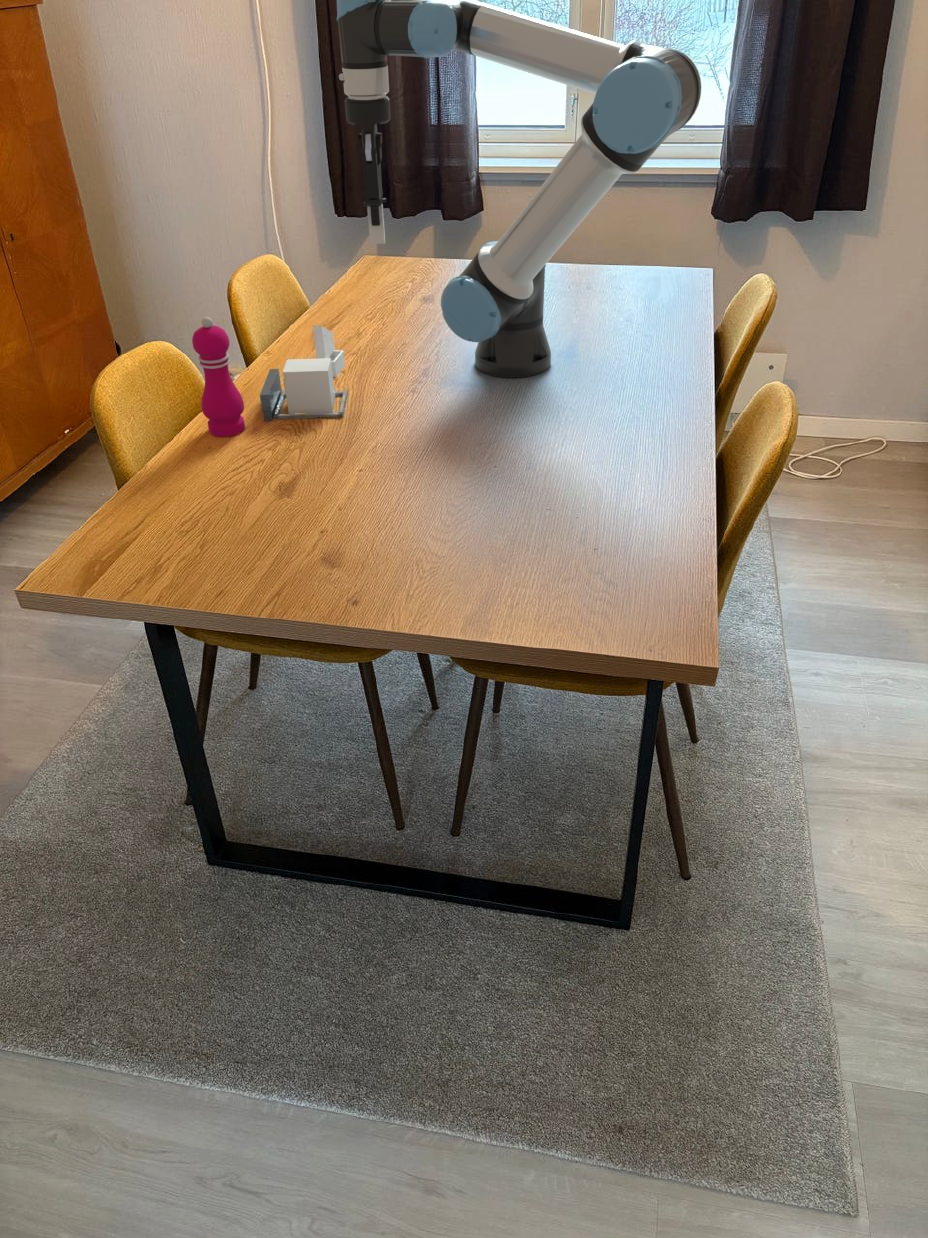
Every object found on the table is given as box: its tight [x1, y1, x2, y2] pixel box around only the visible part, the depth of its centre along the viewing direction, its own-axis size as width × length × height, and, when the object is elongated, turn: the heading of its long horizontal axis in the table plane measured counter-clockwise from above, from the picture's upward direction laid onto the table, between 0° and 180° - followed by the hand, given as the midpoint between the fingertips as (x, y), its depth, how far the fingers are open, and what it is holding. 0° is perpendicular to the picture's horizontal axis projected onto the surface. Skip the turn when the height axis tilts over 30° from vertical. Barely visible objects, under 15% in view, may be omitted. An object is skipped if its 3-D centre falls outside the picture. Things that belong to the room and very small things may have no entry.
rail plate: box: [259, 368, 349, 422], centre depth 171 cm, size 14×12×5 cm
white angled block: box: [312, 325, 346, 378], centre depth 184 cm, size 4×10×9 cm, turn 169°
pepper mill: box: [191, 316, 246, 438], centre depth 160 cm, size 7×7×20 cm
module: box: [282, 358, 336, 414], centre depth 170 cm, size 8×6×8 cm
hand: (377, 242), depth 171 cm, fingers closed
